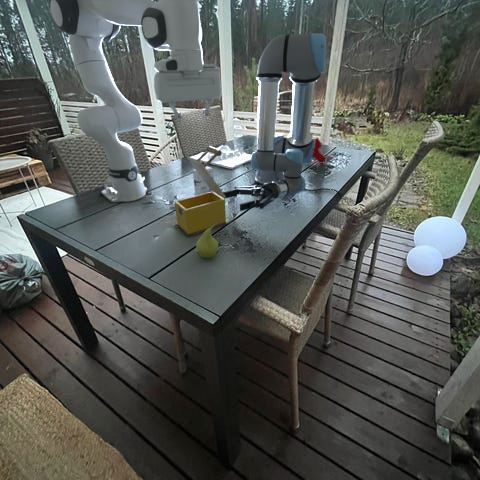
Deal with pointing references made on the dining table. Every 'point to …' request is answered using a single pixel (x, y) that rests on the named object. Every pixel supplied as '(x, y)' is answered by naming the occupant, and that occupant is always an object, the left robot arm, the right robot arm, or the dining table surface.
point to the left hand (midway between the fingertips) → (192, 117)
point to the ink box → (201, 182)
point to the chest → (200, 213)
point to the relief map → (226, 157)
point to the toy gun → (316, 152)
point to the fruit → (207, 244)
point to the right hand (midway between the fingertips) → (231, 201)
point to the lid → (203, 172)
